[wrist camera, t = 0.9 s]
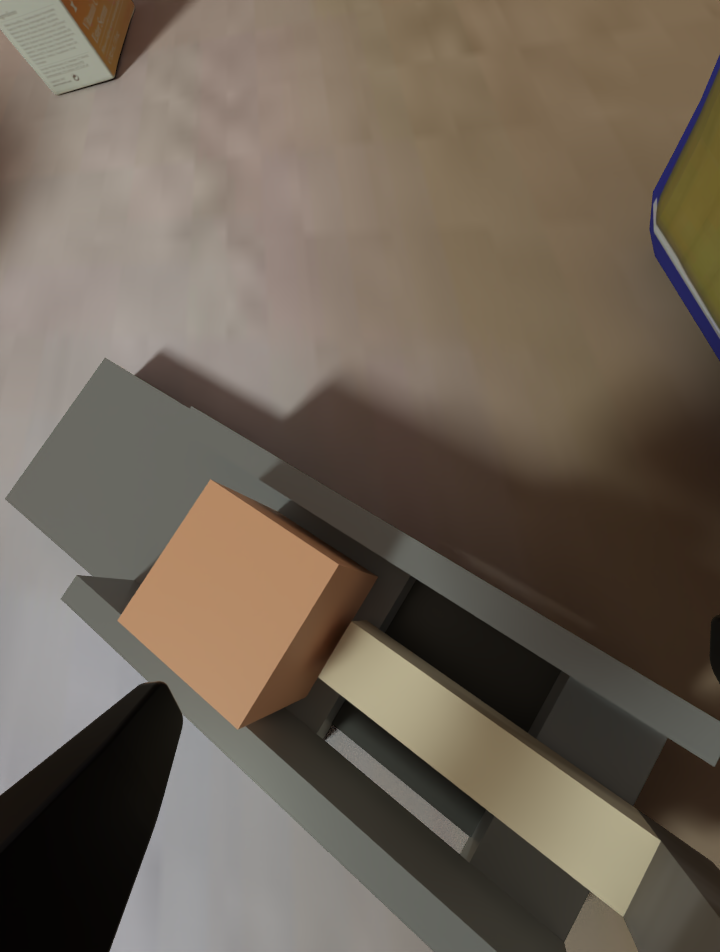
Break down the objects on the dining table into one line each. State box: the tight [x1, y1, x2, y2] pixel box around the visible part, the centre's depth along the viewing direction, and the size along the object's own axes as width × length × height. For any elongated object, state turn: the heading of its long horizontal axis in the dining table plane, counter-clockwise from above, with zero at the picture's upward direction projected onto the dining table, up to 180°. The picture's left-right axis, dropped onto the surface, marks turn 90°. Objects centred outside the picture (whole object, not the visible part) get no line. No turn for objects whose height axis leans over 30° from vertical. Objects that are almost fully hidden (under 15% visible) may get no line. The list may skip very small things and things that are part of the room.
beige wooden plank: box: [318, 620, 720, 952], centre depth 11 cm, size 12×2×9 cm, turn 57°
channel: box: [5, 358, 720, 952], centre depth 18 cm, size 28×8×5 cm, turn 57°
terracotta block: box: [117, 479, 378, 730], centre depth 16 cm, size 5×5×5 cm
